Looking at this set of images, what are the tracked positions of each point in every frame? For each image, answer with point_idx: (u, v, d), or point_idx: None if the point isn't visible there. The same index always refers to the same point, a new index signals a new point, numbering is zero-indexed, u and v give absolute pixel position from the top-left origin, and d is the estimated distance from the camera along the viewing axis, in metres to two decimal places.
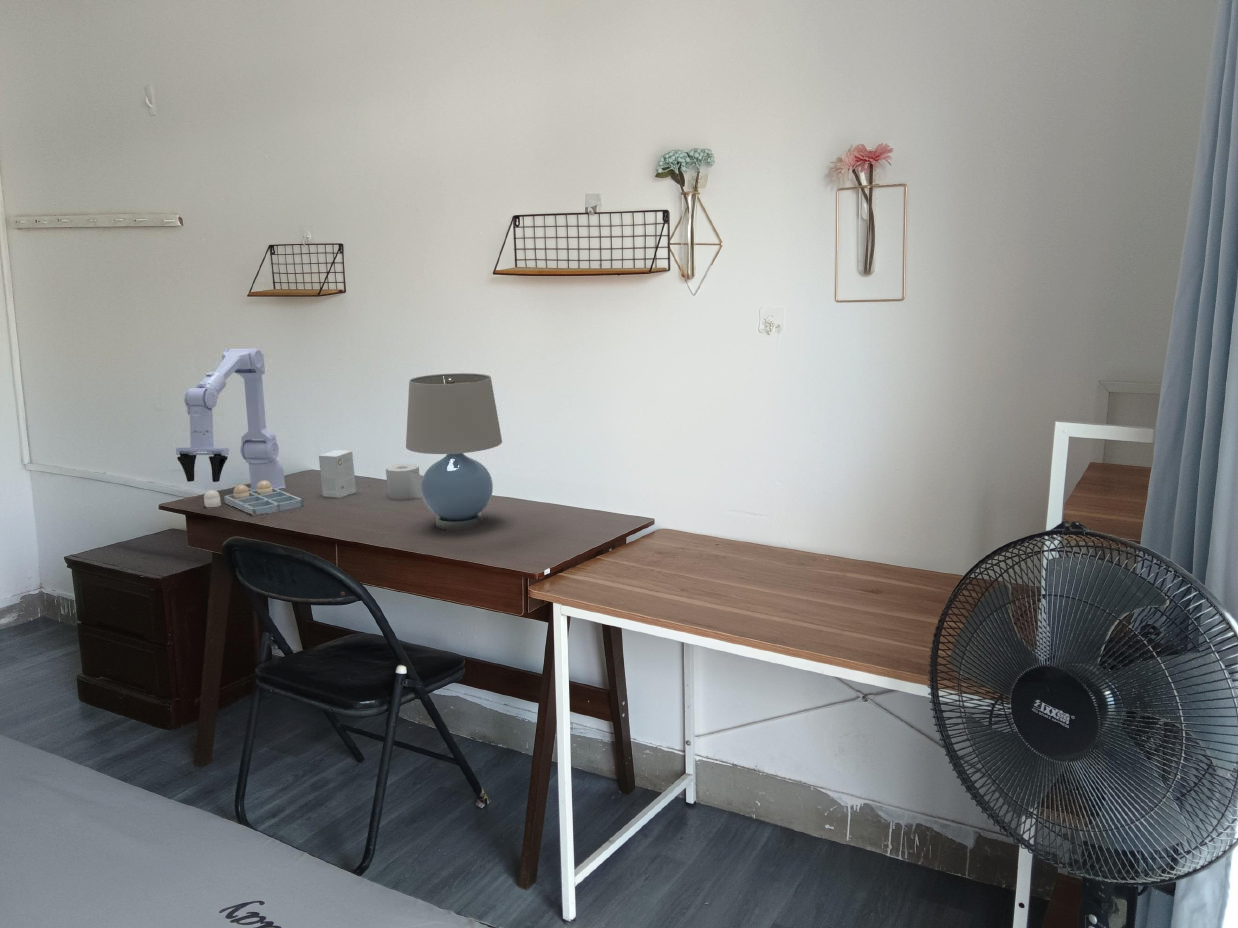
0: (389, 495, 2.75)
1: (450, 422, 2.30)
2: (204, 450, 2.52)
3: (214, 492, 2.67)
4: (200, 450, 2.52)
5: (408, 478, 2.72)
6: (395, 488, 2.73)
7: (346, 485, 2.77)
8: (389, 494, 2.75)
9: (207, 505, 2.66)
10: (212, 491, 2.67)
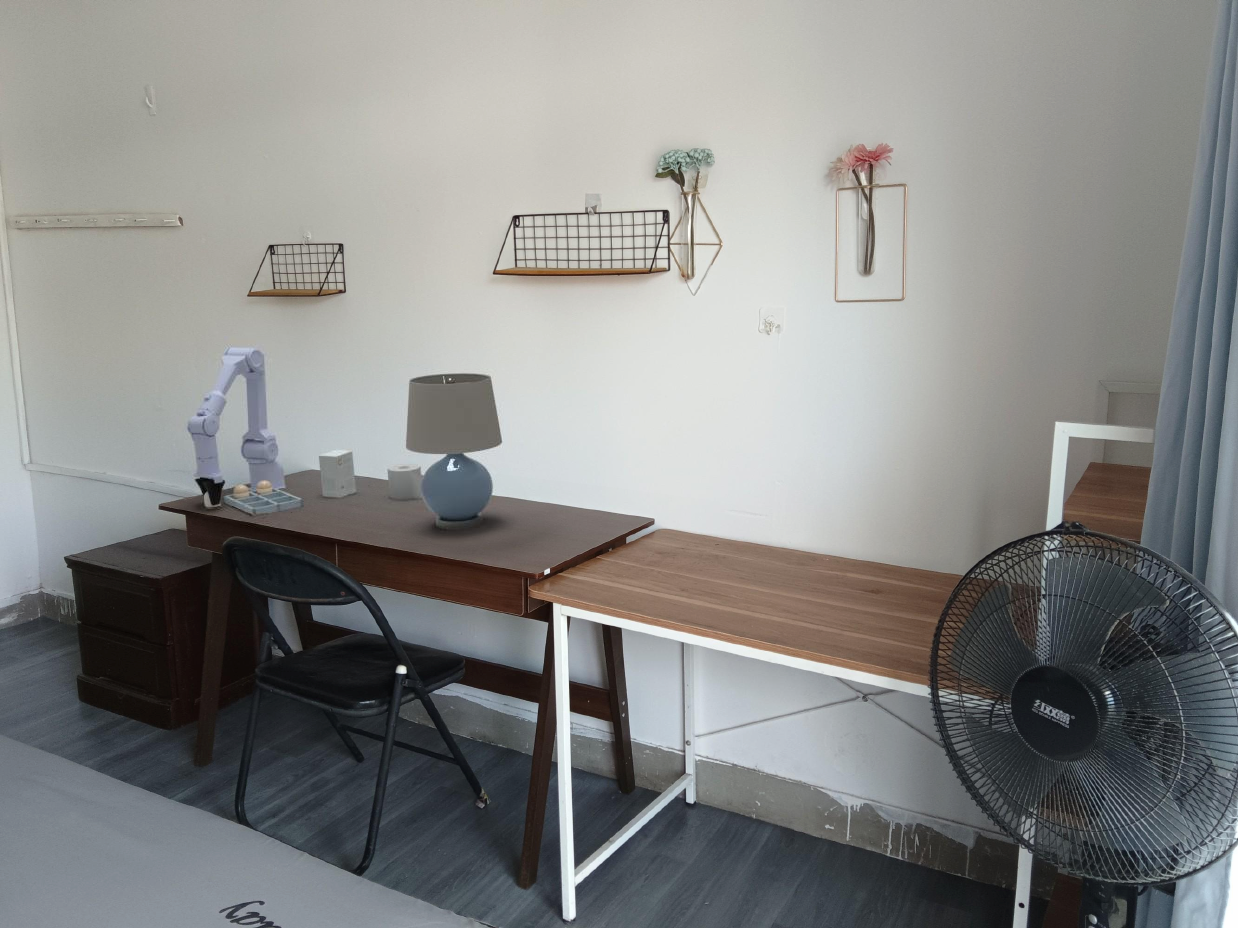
0: (391, 495, 2.75)
1: (450, 422, 2.30)
2: (203, 476, 2.63)
3: None
4: (200, 476, 2.63)
5: (410, 478, 2.72)
6: (397, 488, 2.72)
7: (346, 485, 2.77)
8: (391, 494, 2.75)
9: (207, 505, 2.66)
10: None
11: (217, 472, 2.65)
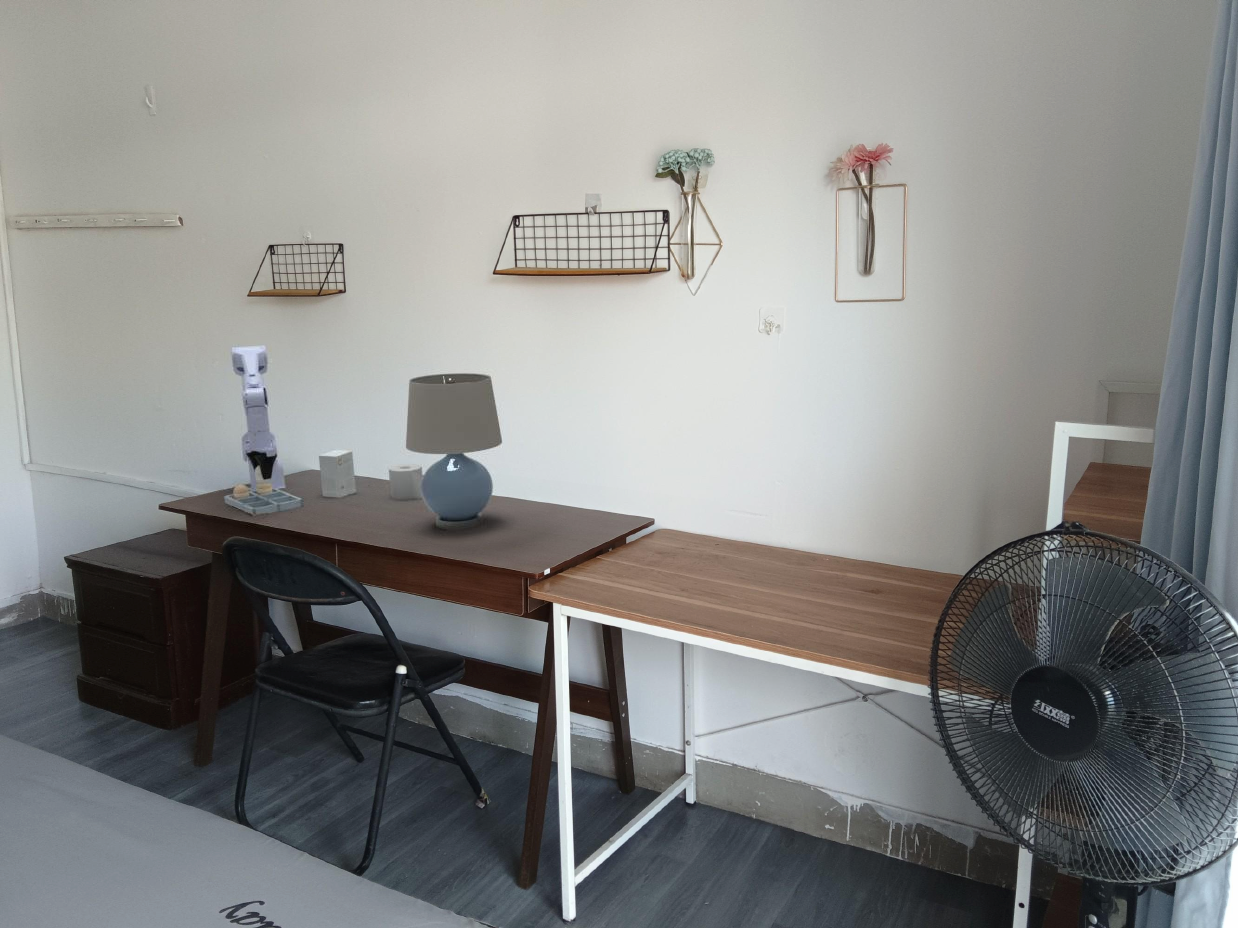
0: (392, 495, 2.75)
1: (450, 422, 2.30)
2: (255, 450, 2.60)
3: None
4: (252, 449, 2.60)
5: (411, 478, 2.72)
6: (398, 488, 2.72)
7: (346, 485, 2.77)
8: (392, 494, 2.75)
9: (258, 479, 2.63)
10: None
11: (269, 446, 2.62)
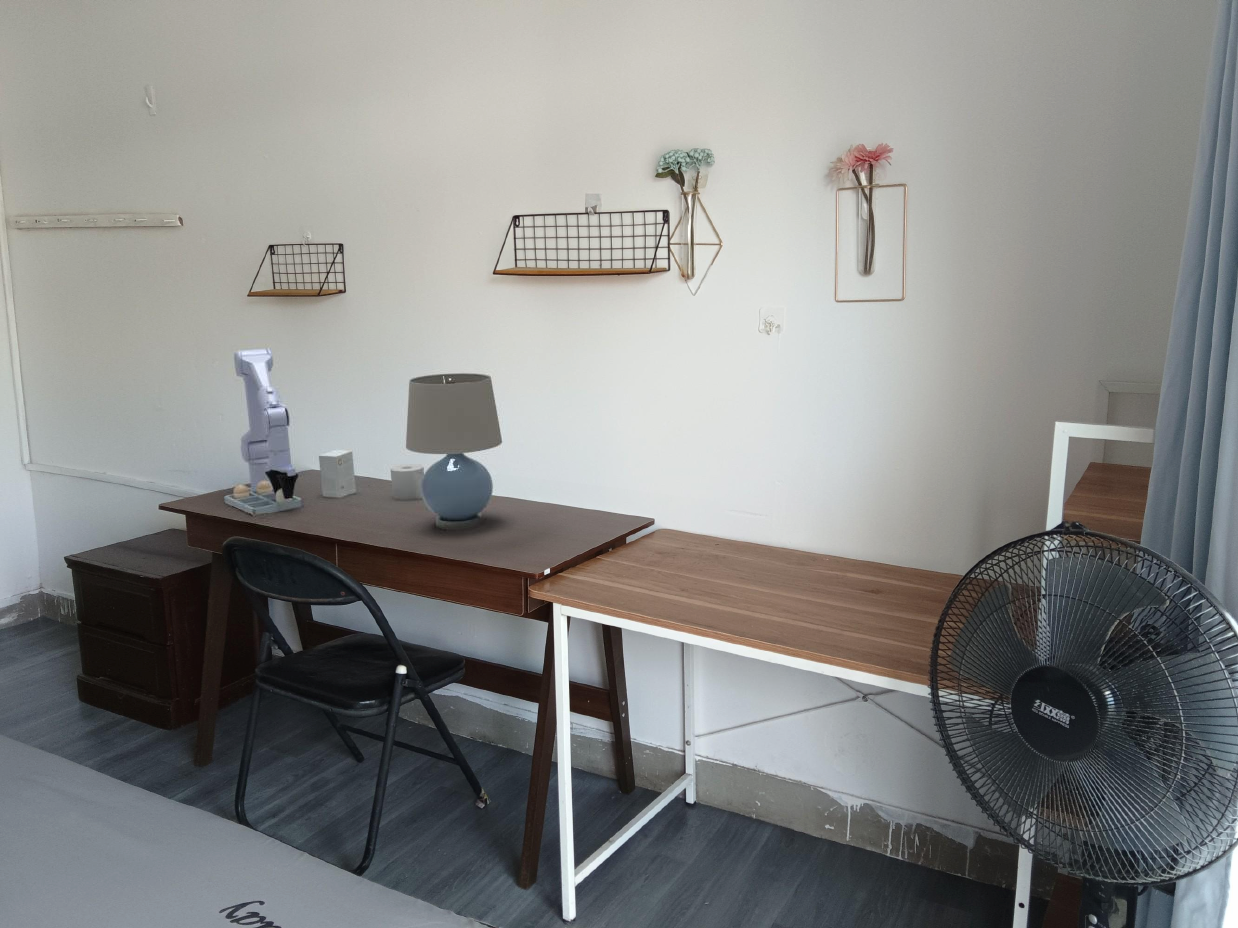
0: (394, 495, 2.75)
1: (450, 422, 2.30)
2: (275, 469, 2.61)
3: None
4: (273, 469, 2.61)
5: (413, 478, 2.72)
6: (400, 488, 2.72)
7: (346, 485, 2.77)
8: (394, 494, 2.75)
9: None
10: None
11: (289, 465, 2.63)
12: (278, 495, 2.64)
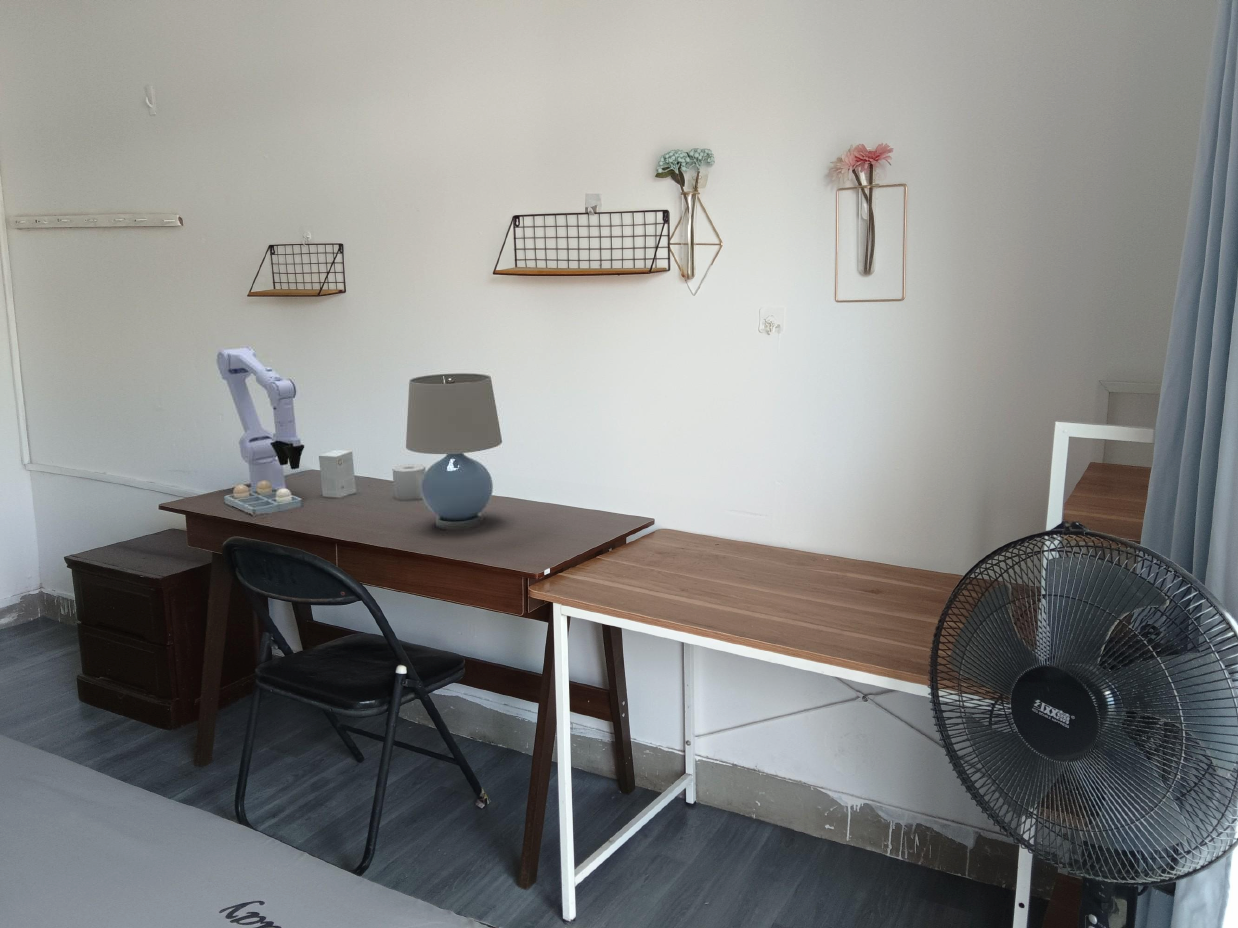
0: (396, 495, 2.75)
1: (450, 422, 2.30)
2: (281, 440, 2.71)
3: (286, 490, 2.65)
4: (279, 439, 2.71)
5: (415, 478, 2.72)
6: (402, 488, 2.72)
7: (346, 485, 2.77)
8: (396, 494, 2.74)
9: None
10: (284, 489, 2.65)
11: (294, 436, 2.73)
12: (278, 495, 2.64)
